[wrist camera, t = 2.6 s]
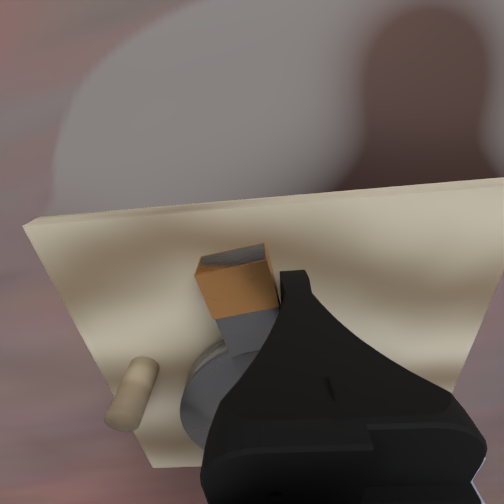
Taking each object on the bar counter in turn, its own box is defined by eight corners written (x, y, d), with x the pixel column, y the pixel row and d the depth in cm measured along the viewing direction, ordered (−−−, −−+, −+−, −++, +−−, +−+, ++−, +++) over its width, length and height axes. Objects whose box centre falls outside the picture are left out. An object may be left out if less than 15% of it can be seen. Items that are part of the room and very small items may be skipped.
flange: (382, 434, 16) (392, 460, 15) (219, 455, 17) (217, 480, 16) (371, 217, 9) (387, 233, 8) (110, 276, 11) (93, 297, 10)
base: (417, 443, 21) (475, 565, 15) (157, 453, 22) (124, 571, 16) (517, 176, 11) (775, 251, 6) (39, 216, 12) (-139, 313, 7)
